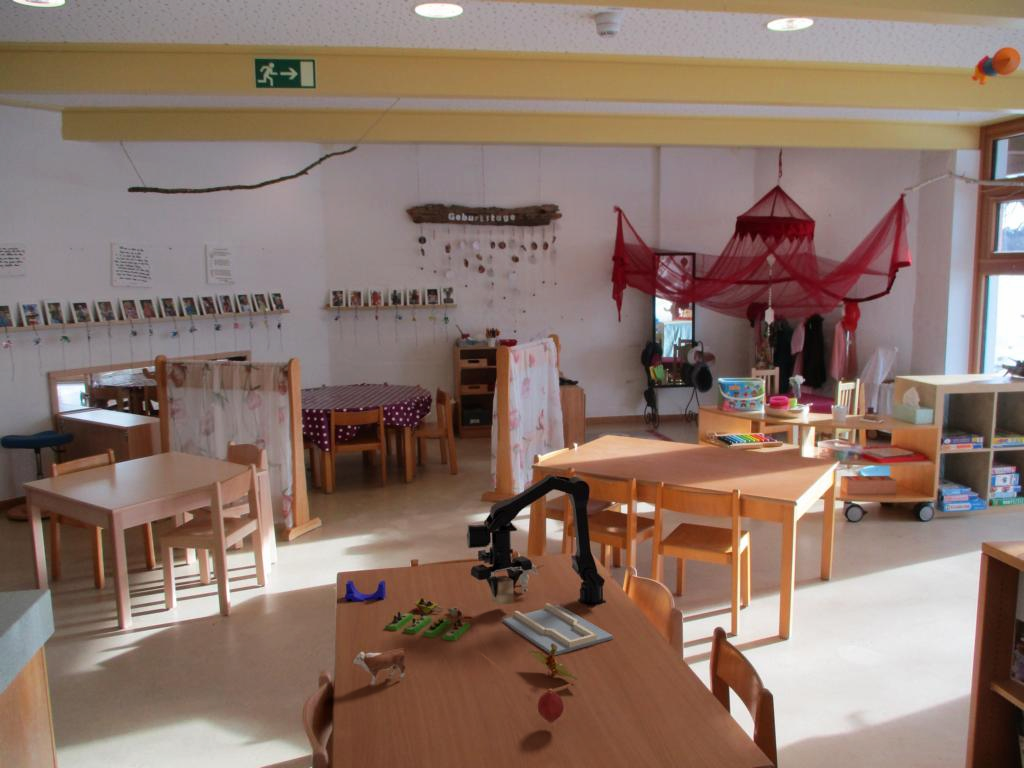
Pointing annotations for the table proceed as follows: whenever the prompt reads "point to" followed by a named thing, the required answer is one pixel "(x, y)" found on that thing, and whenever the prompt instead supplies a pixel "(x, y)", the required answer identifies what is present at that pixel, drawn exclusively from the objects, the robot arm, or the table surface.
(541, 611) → the keyhole board
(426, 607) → the toy garden set
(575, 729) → the table surface
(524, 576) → the unicorn figurine
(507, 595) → the stud block
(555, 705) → the onion
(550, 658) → the origami crane
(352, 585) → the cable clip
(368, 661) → the bull figurine
